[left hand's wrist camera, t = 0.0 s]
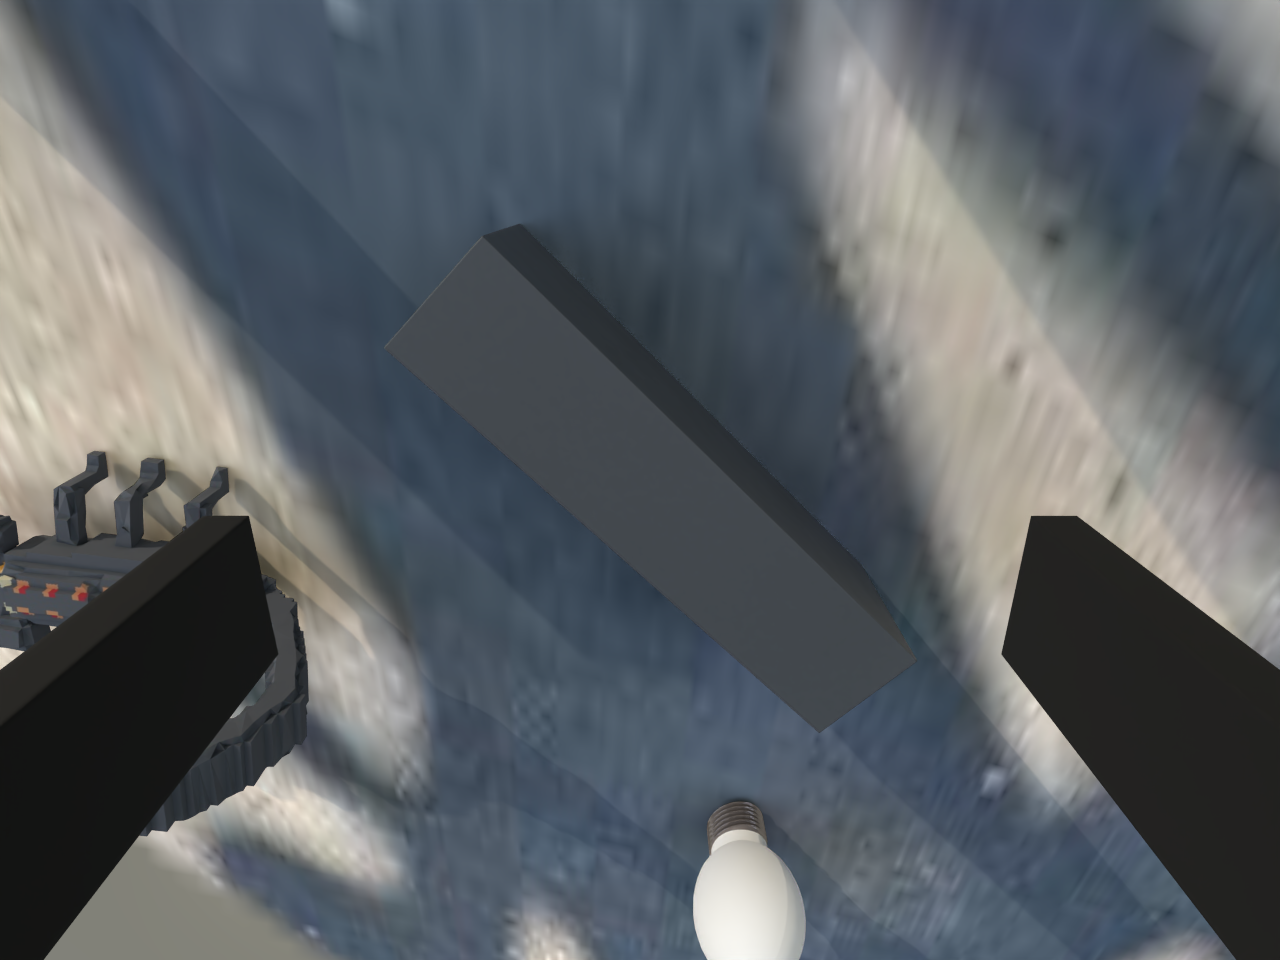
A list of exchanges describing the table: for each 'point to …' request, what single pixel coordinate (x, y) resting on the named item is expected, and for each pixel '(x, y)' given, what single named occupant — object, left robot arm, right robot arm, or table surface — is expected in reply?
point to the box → (651, 473)
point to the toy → (84, 568)
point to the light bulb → (746, 892)
